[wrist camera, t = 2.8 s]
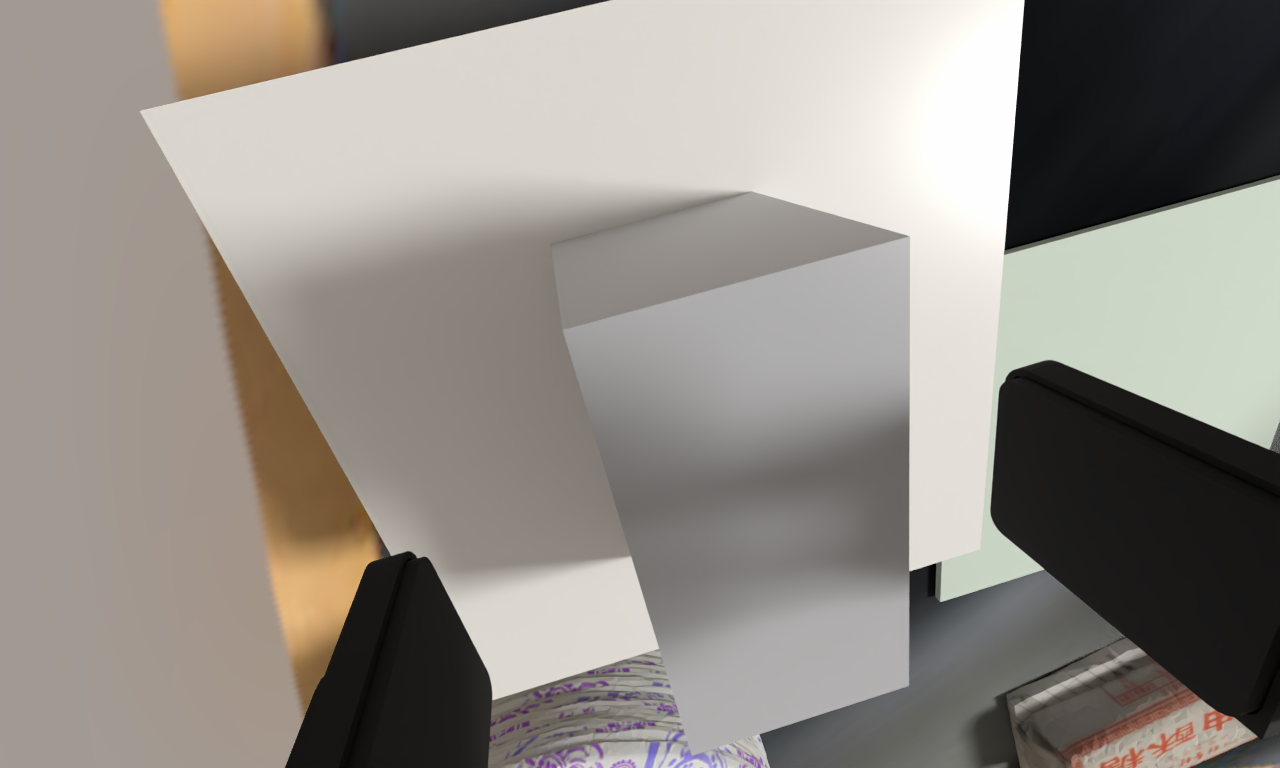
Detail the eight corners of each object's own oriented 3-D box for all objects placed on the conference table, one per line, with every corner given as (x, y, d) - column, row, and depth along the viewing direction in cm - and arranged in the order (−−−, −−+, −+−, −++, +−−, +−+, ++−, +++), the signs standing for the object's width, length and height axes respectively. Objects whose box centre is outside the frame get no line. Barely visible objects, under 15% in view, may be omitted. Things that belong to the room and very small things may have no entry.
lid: (936, -55, 12) (1483, -305, 5) (926, 498, 18) (1152, 711, 12) (221, 114, 11) (-301, 89, 4) (483, 631, 17) (451, 946, 11)
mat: (1361, 152, 22) (1375, 153, 22) (1241, 500, 30) (1249, 504, 30) (945, 266, 21) (953, 269, 21) (935, 596, 29) (940, 602, 29)
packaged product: (1073, 844, 35) (1062, 767, 30) (1013, 765, 39) (996, 687, 35) (1342, 723, 34) (1372, 626, 30) (1251, 656, 38) (1264, 563, 34)
